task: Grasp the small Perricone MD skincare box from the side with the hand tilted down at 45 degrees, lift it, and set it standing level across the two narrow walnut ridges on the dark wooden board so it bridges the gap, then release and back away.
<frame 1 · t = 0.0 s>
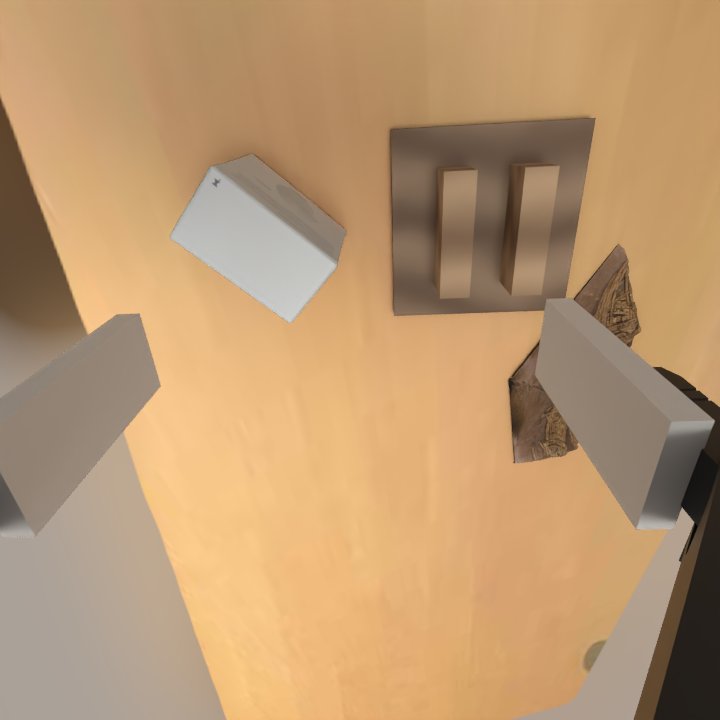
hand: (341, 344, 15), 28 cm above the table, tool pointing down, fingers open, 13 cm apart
ridge board: (482, 225, 40), on the table
wooden fragment: (566, 366, 47), on the table
skincare box: (281, 222, 41), on the table
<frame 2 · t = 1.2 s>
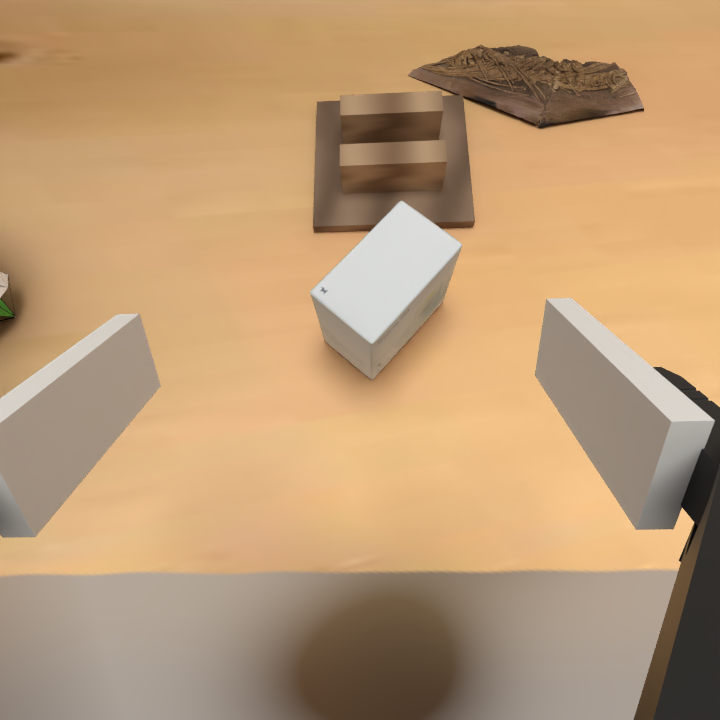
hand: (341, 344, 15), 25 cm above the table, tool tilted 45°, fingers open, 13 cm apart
ridge board: (391, 164, 48), on the table
wooden fragment: (521, 90, 50), on the table
skincare box: (385, 322, 42), on the table
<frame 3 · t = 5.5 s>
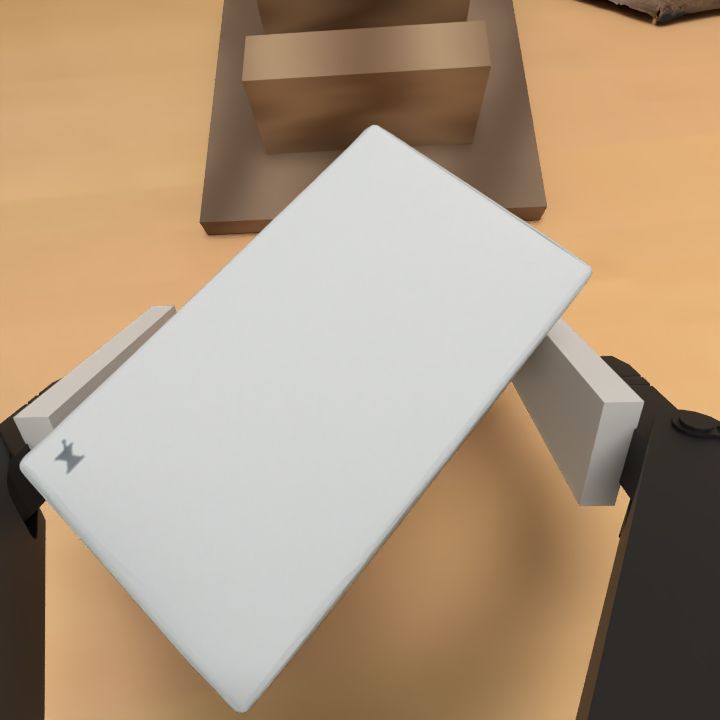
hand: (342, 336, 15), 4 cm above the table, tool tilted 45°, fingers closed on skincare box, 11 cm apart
ridge board: (367, 98, 24), on the table
skincare box: (352, 436, 19), on the table, touching gripper
when the fingers open (11 cm above the table, at t = 10.4 s): skincare box drops 1 cm, resting on ridge board.
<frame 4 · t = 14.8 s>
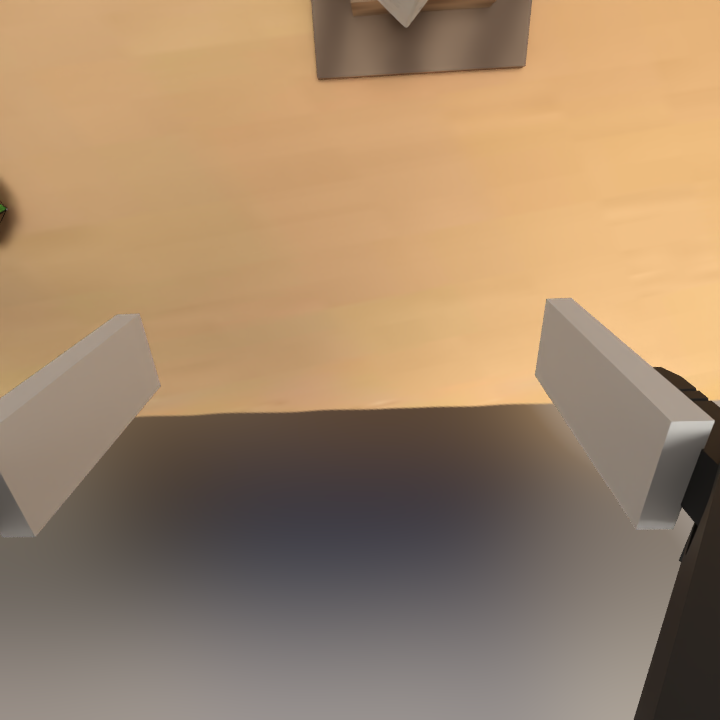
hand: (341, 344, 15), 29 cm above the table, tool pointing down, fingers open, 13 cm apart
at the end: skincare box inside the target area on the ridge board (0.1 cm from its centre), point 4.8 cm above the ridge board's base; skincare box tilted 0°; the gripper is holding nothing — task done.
